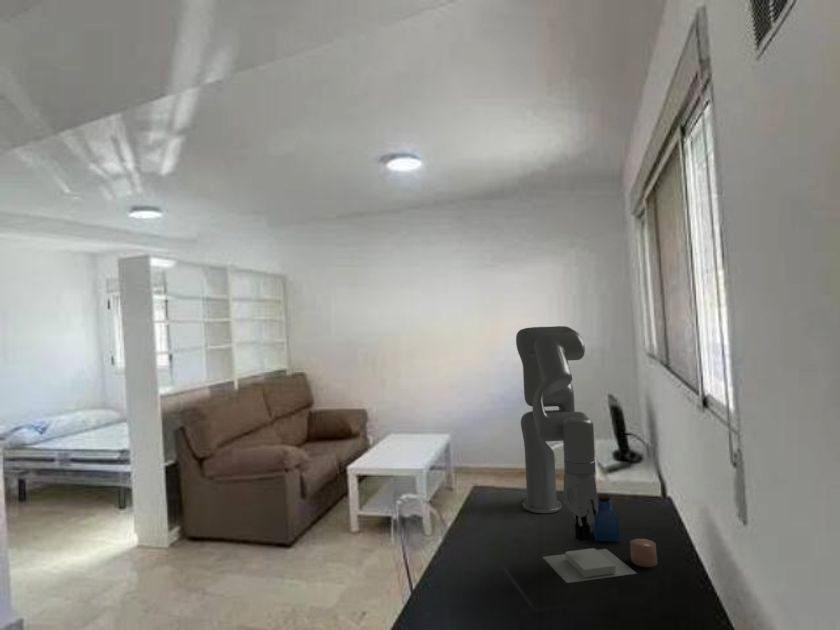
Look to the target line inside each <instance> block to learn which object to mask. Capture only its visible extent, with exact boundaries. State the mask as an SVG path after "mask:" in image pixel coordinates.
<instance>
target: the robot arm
mask: <svg viewBox="0 0 840 630" xmlns="http://www.w3.org/2000/svg"><path fill="white" fill-rule="evenodd" d="M515 344H516V350H517V353H518V355H519V359H520V360H521V363H522V371H523V372H522V374H523V376H522V377H523V395H524V400H525V401H524V402H525V404H526V405H527V406H529V407H532V411H528V412H525V413H524V414H523V415H522V416H521V419H520V428H521V432H522V439H523V444H524V445H523V446H524V459H525V460H524V462H525V485H526V499H524V500H523V501H522V504H521V505H522V508H523V509H524V510H526V511H527V512H531V513H536V514H553V513H556V512H557V513H558V511H560V510H561V509H562V503H561V502H560V501H559V500H558V499H557V485H556V483H557V482H556V480H557V479H556V460H555V458H556V457H555V453H554V450H553V449H552V447H551V446H549V444H548V443H547V442H562V441H563V445H562V446H563V463H564V464H563V465H564V467H563V470H564V475H563V505H564V507H566V509H567V510H569V511H570V512H572V513H573V522H574V533H575V534H574V535H575V539H576V540H577V541H578V542H585V541H586V542H587V541H590V540H591V529H590V526H591V524H593V523H594V522H595V520H594V516H596V515H597V513H598V505H599V504H598V499H599V498H598V491H597V482H596V478H595V477H596V476H595V475H596V457H595V456H596V455H595V436H594V435H595V434H594V432H595V431H594V423H593V421H592V419H591V418H589V417H588V416H587V415H586V414H585V413H584V412H581V411H576V410H575V409H576V408H575V395H574V394H575V393H574V387H573V384H572V381H573V375H572V371H571V368H570V364H569V361H580V360H582V359H583V358H584V356H585V352H586V348H585V347H586V346H585V342H584V340H583V337H582V336H581V335H580V333H579V332H578V331H576V330H574V329H572V328H571V327H569V326H562V325H558V326H557V325H556V326H533V327H531V326H530V327H526V328H521V329H520V330H518V331H517V333H516V336H515ZM545 407H547V408H548V407H557V408H558V409H553V410H545Z"/></svg>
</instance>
